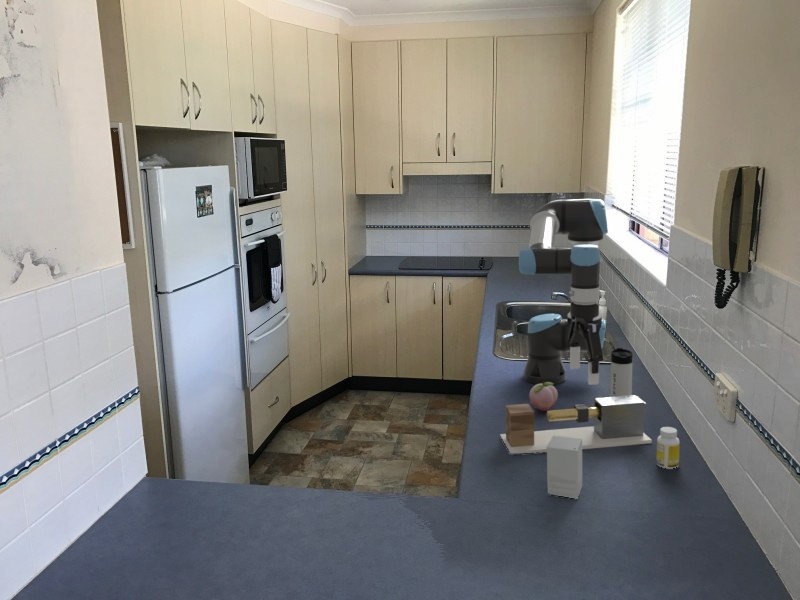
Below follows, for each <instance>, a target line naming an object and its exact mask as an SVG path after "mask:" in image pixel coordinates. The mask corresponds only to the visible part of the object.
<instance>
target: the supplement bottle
mask: <svg viewBox="0 0 800 600" xmlns="http://www.w3.org/2000/svg"><path fill="white" fill-rule="evenodd" d="M659 434H660V435H658V437H657V438H656V465H657V466H658V467H659V468H661V467H662V469H665V468H666V469H665V470H674V469H673V468H675V469H677V468H678V467H679V466H680V444H681V443H680V438H678V437H677V436H678V430H677V429H676V428H675V427H672V426H663V427H661V428H660V429H659ZM676 467H677V468H676Z"/></svg>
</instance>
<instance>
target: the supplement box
mask: <svg viewBox="0 0 800 600" xmlns="http://www.w3.org/2000/svg"><path fill="white" fill-rule="evenodd" d="M546 464H547V465H546V472H547V473H546V474H547V475H546V478H547V483H546V484H547V485H546V486H547V494H548V493H550V494H554V495H558V496H564V497H569V498H568V499H570V498H575V499H574V500H576V499H577V500H578V499H579V497H578V496H580V494H581V492H582V487H583V449H582V439H579V438H570V437H562V436H554V435H553V437H552V439H551V441H550V442H549V444H548V446H547V452H546ZM558 496H557V497H558ZM564 497H563V498H564Z"/></svg>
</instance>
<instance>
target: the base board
mask: <svg viewBox="0 0 800 600" xmlns="http://www.w3.org/2000/svg"><path fill="white" fill-rule="evenodd" d="M553 435H554V436H562V437H570V438H579V439H582V450H589V449H590V450H591V449H603V448H612V447H623V446H624V447H626V446H634V445H646V444H648V445H649V444H652V441H653V440H652V439H651V437H649V436H648V435H647V434H646V433H645V432H643V436H634V437H623V438H611V439H601V438H600V437H599V435H598V434H597V433H596V432H595V431H594V425H593V426H583V427H570V428H559V429H545V430H536V431H535V430H534V445H530V446H519V447H511V446H510V444H509V442H508V441H507V439H506V433H500V434H499V437H500V436H501V438H502V439H503V441H504V443H505V444H506V446H507V448H508V449H509V451H510V453H532V452H533V453H534V454H537V453H536V452H539V453H538V454H543V452H545V453H547V446H548V444H549V442H550V441H551V439H552V437H553ZM501 438H500V439H501ZM503 441H502V442H503ZM504 443H503V444H504ZM507 448H506V449H507ZM510 453H509V454H510Z"/></svg>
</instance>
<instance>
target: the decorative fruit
mask: <svg viewBox="0 0 800 600" xmlns="http://www.w3.org/2000/svg"><path fill="white" fill-rule="evenodd" d="M528 396H529V400H530V403H531V404H532V405H533V407H535V408H536V409H537V410H540V411H543V412H545V411H546V412H547V411H549V409H551V408H552V407H554V406H555V403H556V402H557V400H558V398H559V393H558V389H556V387H555V384H553V383H551V382H545V383H544V381H543V383H541V384H535V385H534V386H532V388H530V391H529V395H528Z"/></svg>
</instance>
